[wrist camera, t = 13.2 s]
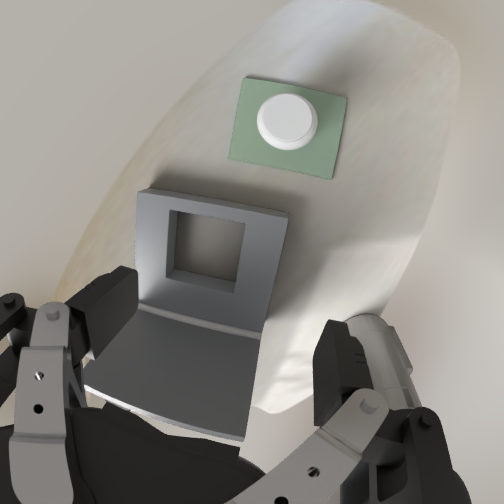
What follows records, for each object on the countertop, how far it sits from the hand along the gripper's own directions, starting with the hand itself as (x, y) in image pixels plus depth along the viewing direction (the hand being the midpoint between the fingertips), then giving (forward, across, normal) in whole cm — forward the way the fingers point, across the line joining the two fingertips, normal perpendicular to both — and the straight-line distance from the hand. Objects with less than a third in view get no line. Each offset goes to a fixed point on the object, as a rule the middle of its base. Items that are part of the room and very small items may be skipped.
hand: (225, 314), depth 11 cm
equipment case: (+23, +7, +9) cm, 25 cm away
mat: (+23, 0, -9) cm, 25 cm away
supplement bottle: (+23, 0, -9) cm, 25 cm away
